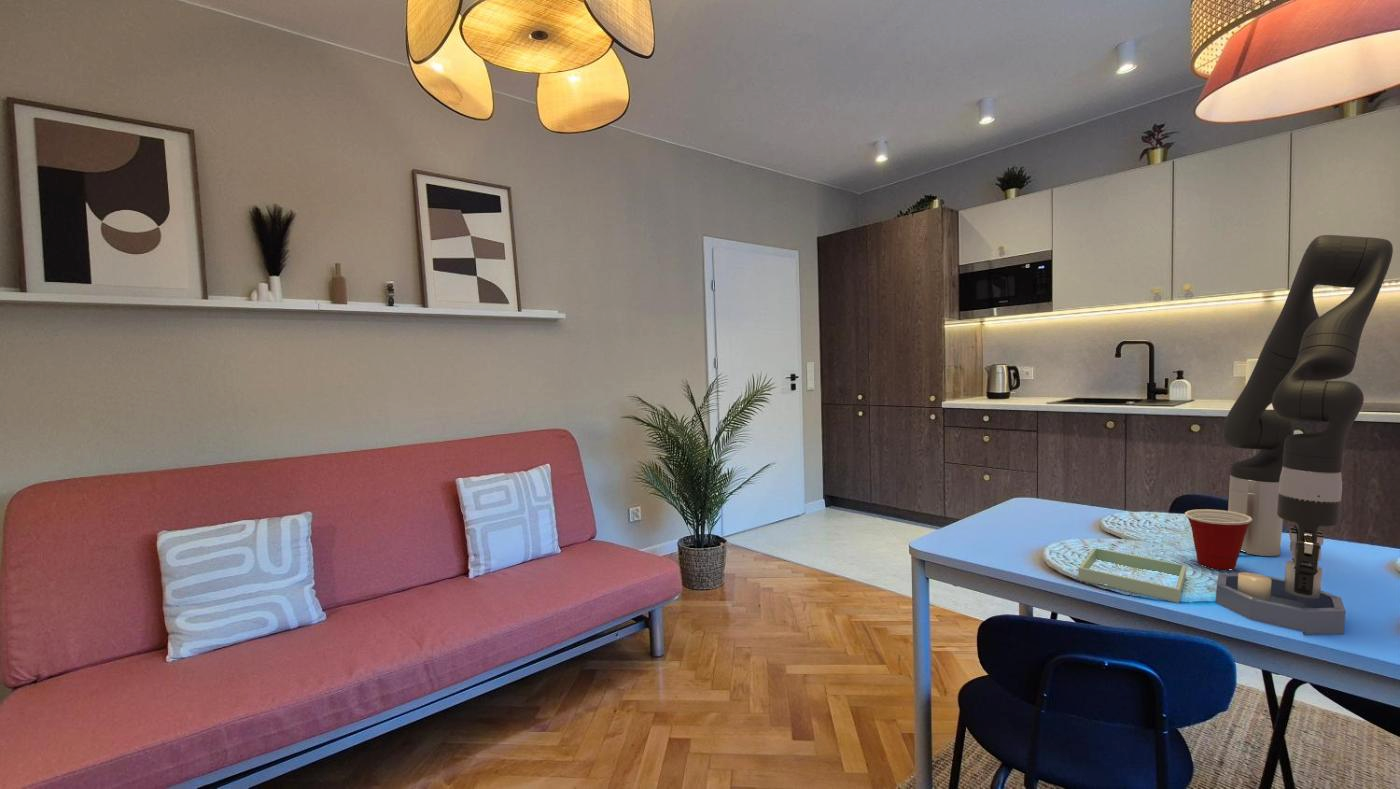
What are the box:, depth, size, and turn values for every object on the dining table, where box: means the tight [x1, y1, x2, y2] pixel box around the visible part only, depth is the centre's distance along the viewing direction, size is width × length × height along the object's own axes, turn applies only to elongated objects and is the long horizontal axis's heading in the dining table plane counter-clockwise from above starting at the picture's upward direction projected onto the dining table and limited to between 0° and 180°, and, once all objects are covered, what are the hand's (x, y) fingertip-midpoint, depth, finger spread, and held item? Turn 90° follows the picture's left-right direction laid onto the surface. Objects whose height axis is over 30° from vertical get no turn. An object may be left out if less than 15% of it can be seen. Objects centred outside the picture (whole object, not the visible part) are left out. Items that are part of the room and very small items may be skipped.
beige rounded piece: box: [1284, 560, 1323, 599], centre depth 101 cm, size 4×4×5 cm
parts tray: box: [1077, 547, 1187, 604], centre depth 118 cm, size 16×16×3 cm
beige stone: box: [1237, 571, 1271, 602], centre depth 105 cm, size 4×4×5 cm
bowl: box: [1215, 572, 1347, 636], centre depth 104 cm, size 16×16×4 cm
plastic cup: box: [1184, 508, 1252, 571], centre depth 124 cm, size 11×11×12 cm
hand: (1301, 588), depth 101 cm, fingers closed on beige rounded piece, 4 cm apart
